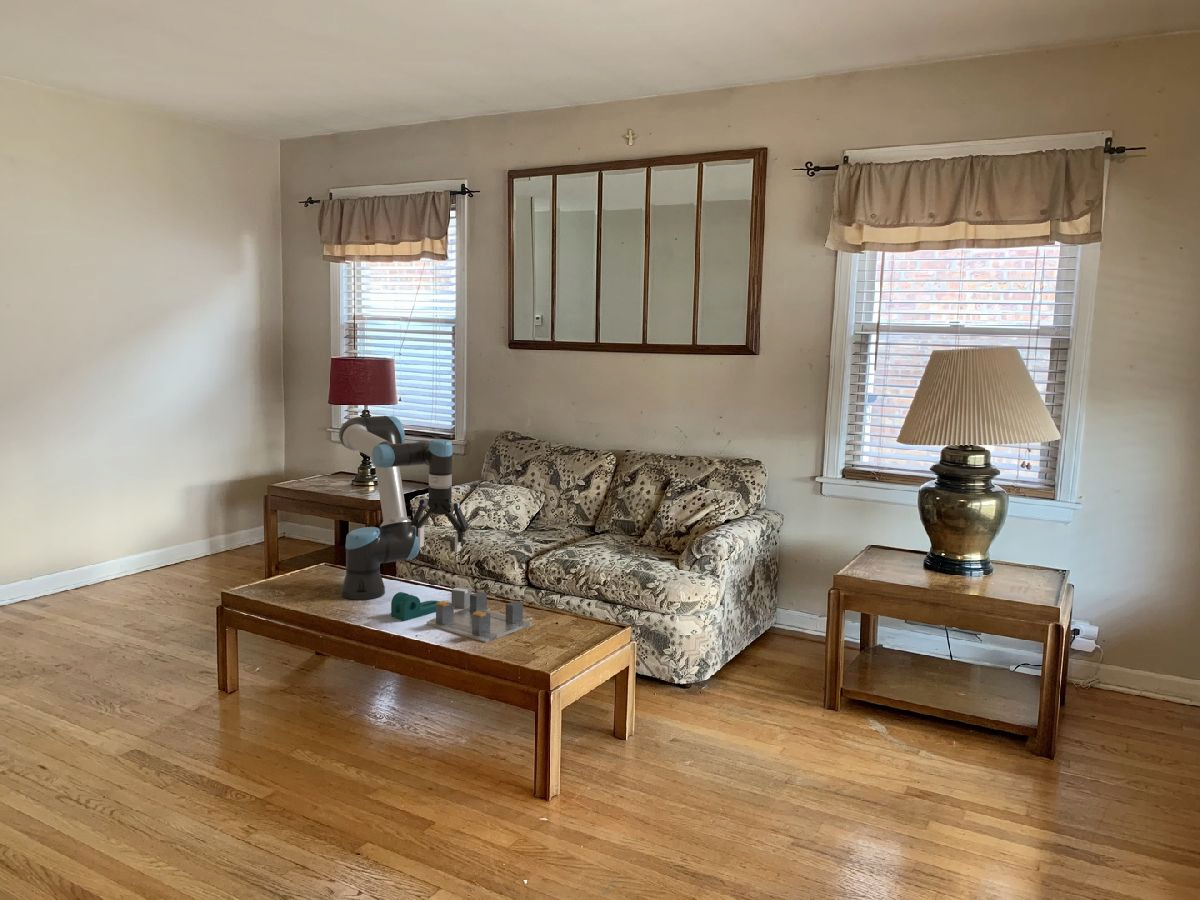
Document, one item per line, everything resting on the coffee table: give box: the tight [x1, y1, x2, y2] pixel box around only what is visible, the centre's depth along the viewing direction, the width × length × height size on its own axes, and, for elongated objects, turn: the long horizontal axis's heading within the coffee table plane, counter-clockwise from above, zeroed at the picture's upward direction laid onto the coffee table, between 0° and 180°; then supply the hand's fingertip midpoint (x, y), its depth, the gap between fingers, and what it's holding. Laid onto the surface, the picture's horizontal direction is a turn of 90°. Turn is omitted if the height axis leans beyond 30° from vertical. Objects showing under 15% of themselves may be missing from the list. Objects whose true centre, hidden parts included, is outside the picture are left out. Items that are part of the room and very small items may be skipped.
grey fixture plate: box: [426, 591, 533, 643], centre depth 296 cm, size 26×22×8 cm
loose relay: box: [451, 586, 473, 610], centre depth 316 cm, size 5×5×6 cm
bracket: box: [390, 591, 441, 622], centre depth 307 cm, size 18×7×8 cm, turn 141°
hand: (439, 549), depth 305 cm, fingers open, 13 cm apart
